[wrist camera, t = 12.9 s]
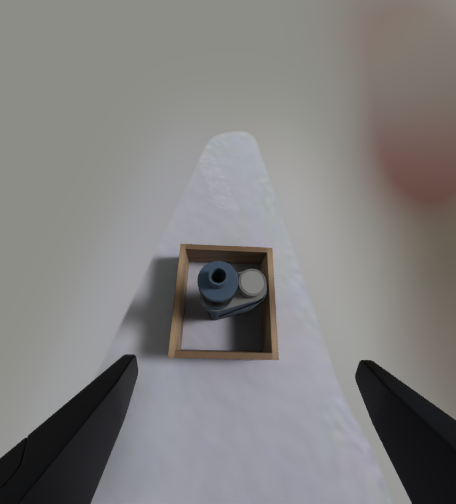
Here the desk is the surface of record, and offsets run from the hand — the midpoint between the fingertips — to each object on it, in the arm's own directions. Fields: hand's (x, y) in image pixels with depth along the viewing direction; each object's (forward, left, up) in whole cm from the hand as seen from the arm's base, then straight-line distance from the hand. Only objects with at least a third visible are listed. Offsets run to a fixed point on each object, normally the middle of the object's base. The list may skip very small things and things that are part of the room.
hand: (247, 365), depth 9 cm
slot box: (+5, +1, -14) cm, 14 cm away
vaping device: (+5, 0, -14) cm, 14 cm away
